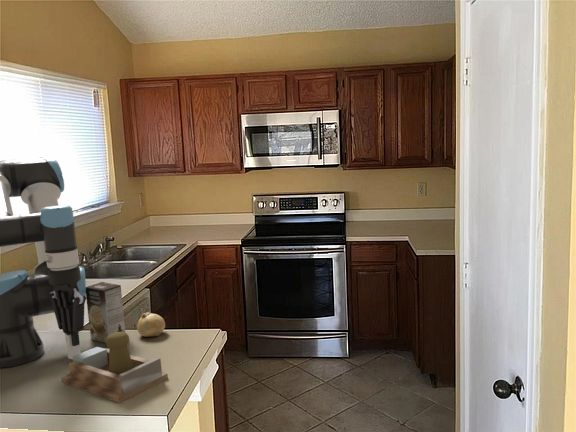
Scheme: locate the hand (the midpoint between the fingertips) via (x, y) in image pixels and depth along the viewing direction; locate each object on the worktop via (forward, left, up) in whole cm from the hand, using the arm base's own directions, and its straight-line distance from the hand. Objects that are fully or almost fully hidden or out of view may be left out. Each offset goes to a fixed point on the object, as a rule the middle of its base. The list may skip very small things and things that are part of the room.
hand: (74, 356), depth 140 cm
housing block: (+7, 0, -2) cm, 7 cm away
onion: (-1, +26, -3) cm, 26 cm away
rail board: (+16, 0, -3) cm, 16 cm away
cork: (+19, 0, -2) cm, 19 cm away
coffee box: (-11, +18, -3) cm, 22 cm away
